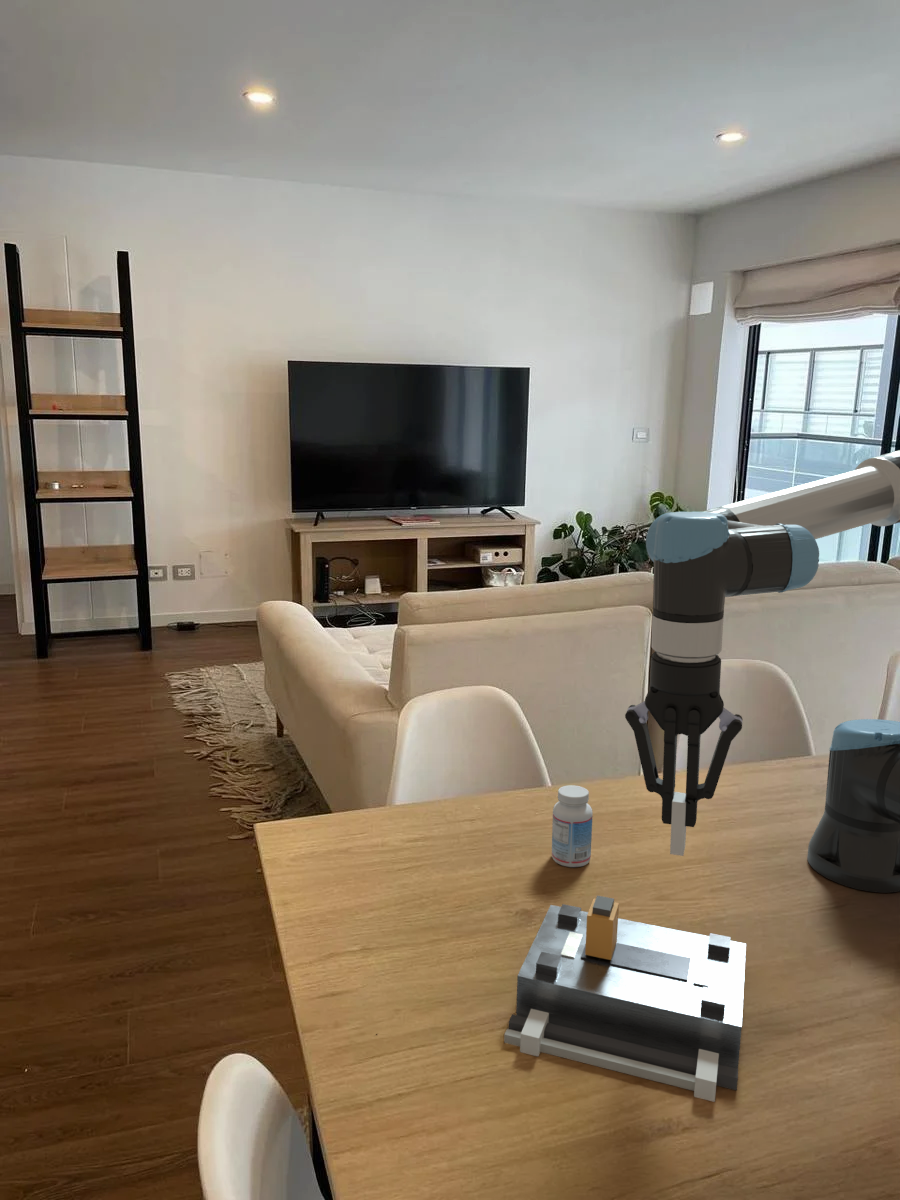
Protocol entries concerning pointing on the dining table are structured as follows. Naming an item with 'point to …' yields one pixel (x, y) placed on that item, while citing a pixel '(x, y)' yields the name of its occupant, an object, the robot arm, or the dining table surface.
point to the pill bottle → (572, 827)
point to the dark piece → (621, 1055)
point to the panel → (638, 985)
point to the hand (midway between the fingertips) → (677, 849)
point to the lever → (602, 928)
